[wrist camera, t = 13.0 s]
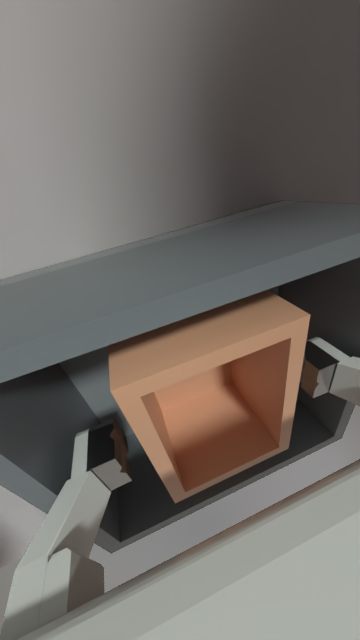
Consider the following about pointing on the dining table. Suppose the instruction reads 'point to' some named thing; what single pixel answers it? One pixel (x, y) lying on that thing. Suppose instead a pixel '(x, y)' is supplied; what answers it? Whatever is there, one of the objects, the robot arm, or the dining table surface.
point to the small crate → (212, 389)
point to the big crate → (153, 312)
